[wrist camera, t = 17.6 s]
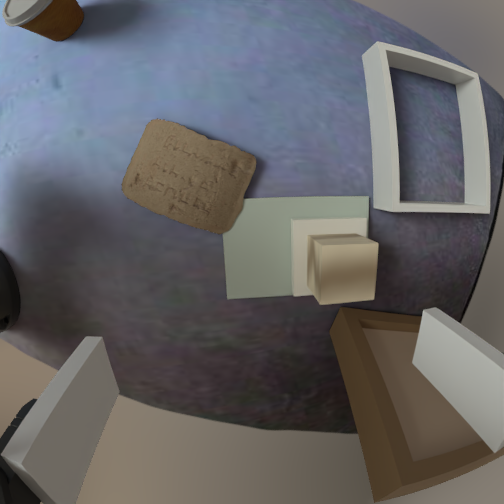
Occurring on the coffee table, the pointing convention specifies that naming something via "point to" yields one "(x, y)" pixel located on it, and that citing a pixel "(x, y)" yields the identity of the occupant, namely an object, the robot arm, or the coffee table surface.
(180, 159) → the clay tablet
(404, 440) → the photo frame
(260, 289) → the mat
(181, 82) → the coffee table surface
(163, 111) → the coffee table surface
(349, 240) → the block
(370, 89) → the white open rectangular frame
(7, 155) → the coffee table surface
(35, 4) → the disposable coffee cup
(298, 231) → the tile
